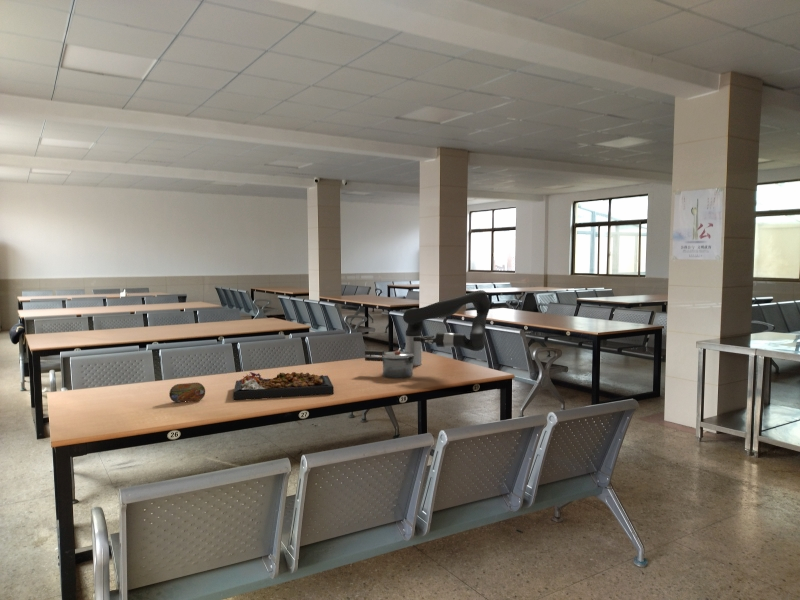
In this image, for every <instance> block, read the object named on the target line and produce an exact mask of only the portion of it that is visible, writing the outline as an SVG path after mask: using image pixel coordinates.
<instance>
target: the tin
mask: <svg viewBox="0 0 800 600" xmlns="http://www.w3.org/2000/svg"><path fill="white" fill-rule="evenodd" d="M205 395H206V389H205V386H204V385H203V384H202V383H200V382H187V383H177V384H175V385H173V386H172V387H171V388H170V390H169V398H170V400H171V401H172V402H173V403H176V402H185V401H186V402H185V403H189V402H188V401H196V402H200V401H201V400H203V398H204V397H205Z"/></svg>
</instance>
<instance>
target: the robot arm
mask: <svg viewBox="0 0 800 600" xmlns="http://www.w3.org/2000/svg"><path fill="white" fill-rule="evenodd" d="M468 304H472V306H473V307H474V309H475V311H476V315H475V316H474V318H473V319H472V323H471V330H470V333H469V338H468V337H467V336H466V334H464V333H454V332H436V334H435V336H434V335H424V336H422V331H423V326H424V325H423V323H424V321H427V320H433V319H434V320H435V319H439V318H440V319H441V318H447V317H450V316H453V315H455V314H456V313H457V312H458V311H459V310H460V309H461V308H462V307H463V306H465V305H468ZM491 304H492V303H491V300H490V298H489V296H488V294H487V292H486V291H485V290H483V289H482V290H481V289H480V290H479V289H478V290H475V291H472V292H469V293H467V294H464V295H463V294H462V295H461V296H457V297H453V298H449V299H444V300H440V301H437V302H435V303H431V304H429V305H426V306H423V307H412V308H409V309H406V311H404V312H403V316H402V319H403V321H404V323H406V324H407V327H406V329H405V347H404V352H411V353H413V356H414V355H415V357H414V358H415V362H414V363H413V367H414V366H415V367H416V366H422V344H426V345H427V344H428V345H429V344H430V345H432V344H434V343H435V346H436V347H437V348H462V349H463V348H464V349H467V350H470V351H474V352H478V351H482V350H483V349H485V346H486V345H485V335H484V334H485V332H486V325H487V323H486V322H487V319H488V318H487V317H488V314H489V312H490V310H491V309H490V308H491Z"/></svg>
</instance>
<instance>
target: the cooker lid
mask: <svg viewBox="0 0 800 600" xmlns="http://www.w3.org/2000/svg"><path fill="white" fill-rule="evenodd" d="M364 355H365V356H381V357H383V358H387V359H406V358H411V359H412V358H414V357H415V355H414V356H413V353H411V352H405V351H403V350H402V351H401V350H394V351H387V352H385V350H374V349H373V350H372V349H366V350H365V351H364Z"/></svg>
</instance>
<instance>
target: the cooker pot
mask: <svg viewBox="0 0 800 600" xmlns="http://www.w3.org/2000/svg"><path fill="white" fill-rule="evenodd" d="M364 361H366V362H382V376H383V377H384V378H387V379H396V380H398V379H407V378H410V377H411V378H412V377H413V376H414V373H413V371H414V369H413V367H414V366H413V363H414V362H415V358H412V359H411V358H406V359H387V358H383V357H382V356H372V355H366V356H365V357H364Z"/></svg>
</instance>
